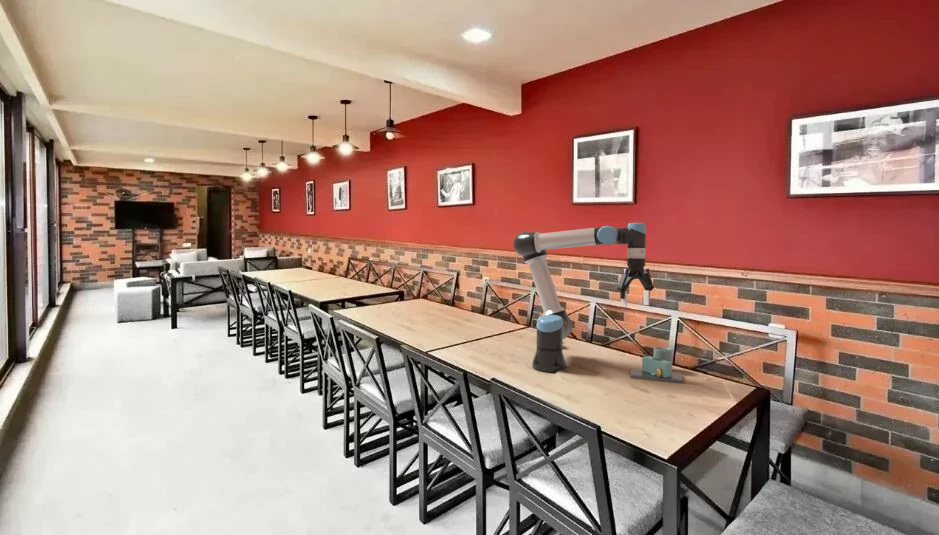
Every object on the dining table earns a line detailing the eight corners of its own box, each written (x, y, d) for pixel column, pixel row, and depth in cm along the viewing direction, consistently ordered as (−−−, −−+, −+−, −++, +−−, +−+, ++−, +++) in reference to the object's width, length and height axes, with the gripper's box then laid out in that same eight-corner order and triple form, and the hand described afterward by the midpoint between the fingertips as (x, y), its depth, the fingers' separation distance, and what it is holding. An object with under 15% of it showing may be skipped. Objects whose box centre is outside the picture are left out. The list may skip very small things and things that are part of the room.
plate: (630, 377, 188) (630, 366, 188) (631, 370, 199) (631, 360, 199) (683, 383, 181) (683, 371, 180) (680, 375, 192) (681, 364, 192)
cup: (674, 373, 195) (674, 350, 195) (655, 372, 197) (655, 349, 196) (669, 369, 203) (670, 347, 202) (651, 368, 204) (652, 346, 204)
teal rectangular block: (642, 370, 194) (642, 354, 194) (648, 369, 196) (649, 353, 195) (664, 377, 183) (665, 360, 183) (671, 376, 185) (672, 359, 185)
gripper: (621, 258, 190) (620, 307, 191) (663, 258, 201) (661, 305, 202) (608, 257, 197) (607, 305, 198) (649, 257, 208) (648, 303, 209)
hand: (635, 305), depth 200 cm, fingers open, 13 cm apart
